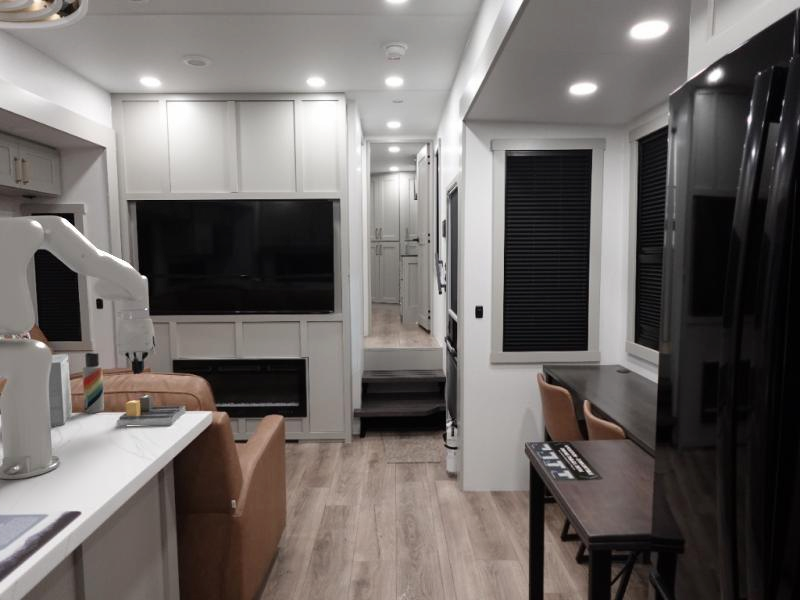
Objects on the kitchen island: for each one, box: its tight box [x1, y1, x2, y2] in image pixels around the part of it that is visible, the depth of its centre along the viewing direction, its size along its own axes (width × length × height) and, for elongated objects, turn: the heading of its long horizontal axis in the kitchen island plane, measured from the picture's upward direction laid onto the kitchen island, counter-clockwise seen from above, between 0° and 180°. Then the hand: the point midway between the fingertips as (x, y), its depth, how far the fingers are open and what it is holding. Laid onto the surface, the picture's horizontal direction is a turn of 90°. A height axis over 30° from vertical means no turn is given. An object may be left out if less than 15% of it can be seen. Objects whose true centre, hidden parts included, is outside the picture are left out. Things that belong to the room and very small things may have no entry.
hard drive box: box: [49, 353, 73, 427], centre depth 164 cm, size 16×8×20 cm, turn 25°
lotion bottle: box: [82, 352, 105, 414], centre depth 174 cm, size 6×6×20 cm
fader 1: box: [125, 399, 140, 416], centre depth 161 cm, size 3×3×5 cm
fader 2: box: [138, 394, 154, 411], centre depth 167 cm, size 3×3×5 cm
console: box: [116, 405, 187, 427], centre depth 165 cm, size 14×16×3 cm
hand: (138, 373), depth 163 cm, fingers closed
